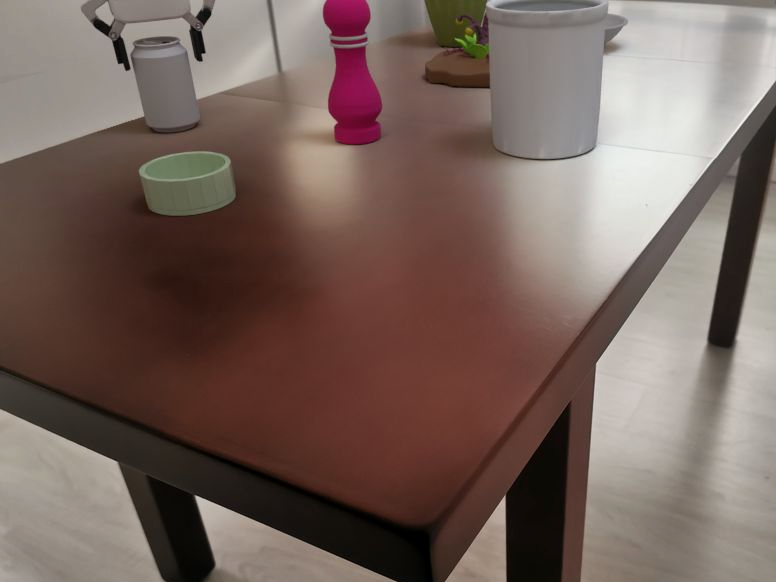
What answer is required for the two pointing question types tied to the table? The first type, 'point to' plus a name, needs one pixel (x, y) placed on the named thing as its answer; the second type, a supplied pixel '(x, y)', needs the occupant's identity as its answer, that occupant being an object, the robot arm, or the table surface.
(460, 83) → the plant
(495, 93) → the utensil holder
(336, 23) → the pepper mill
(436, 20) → the flower pot
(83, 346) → the table surface
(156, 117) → the can
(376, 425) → the table surface
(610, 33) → the dish
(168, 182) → the ramekin
